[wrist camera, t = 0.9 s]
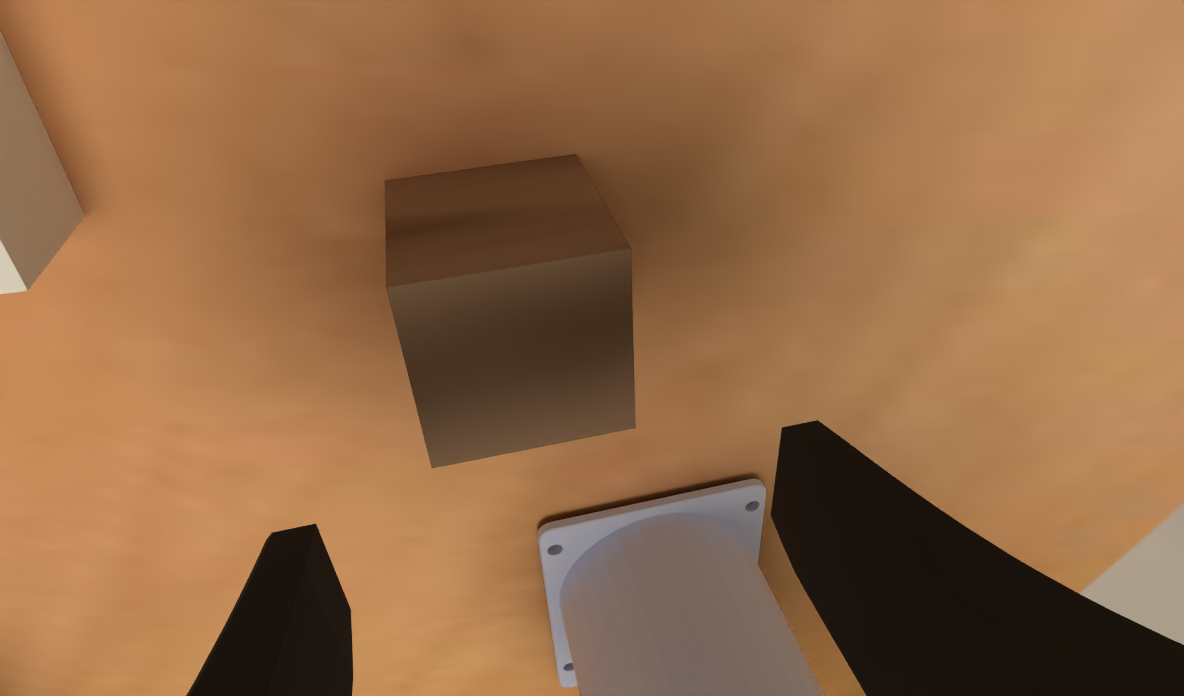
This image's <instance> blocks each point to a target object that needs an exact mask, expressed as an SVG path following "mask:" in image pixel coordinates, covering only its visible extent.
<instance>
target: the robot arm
mask: <svg viewBox="0 0 1184 696" xmlns="http://www.w3.org/2000/svg"><path fill="white" fill-rule="evenodd" d="M765 500H766V488H765V486H764V485H763V483H762V482H761V481H760V480H758V479H748V480H743V481H738V482H734V483H729V484H724V485H720V486H715V487H710V488H706V489H701V490H697V491H692V492H687V493H683V494H678V495H673V496H669V497H664V498H659V499H655V500H650V501H645V502H641V503H636V504H631V505H627V506H622V507H618V508H613V509H608V510H604V511H599V512H594V513H590V514H585V515H580V516H576V517H571V518H566V519H562V520H557V521H553V522H549V523H546V524H544V525H543V526H542V527H540V529H539V530H538V532H537V538H538V545H539V552H540V558H541V565H542V572H543V579H544V586H545V592H546V599H547V606H548V613H549V620H550V626H551V633H552V640H553V647H554V654H555V660H556V667H557V674H558V679H559V683H560V685H561V686H563V687H567V688H570V687H575V686H578V688H579V693H580V696H824V694H823V692H822V690H821V688H820V686H819V684H818V682H817V680H816V678H815V676H814V674H813V672H812V670H811V668H810V666H809V664H808V662H807V660H806V658H805V656H804V654H803V652H802V650H801V648H800V646H799V644H798V643H797V641H796V639H795V637H794V635H793V633H792V631H791V629H790V627H789V625H788V623H787V621H786V619H785V617H784V615H783V613H782V611H781V609H780V607H779V605H778V603H777V601H776V599H775V597H774V595H773V593H772V591H771V589H770V587H769V585H768V583H767V582H766V580H765V578H764V576H763V574H762V572H761V570H760V568H759V566H758V558H759V550H760V542H761V533H762V525H763V517H764V508H765ZM771 517H772V519H773V522H774V524H775V527H776V529H777V532H778V534H779V536H780V539H781V541H782V544H783V546H784V548H785V551H786V553H787V555H788V558H789V560H790V562H791V564H792V567H793V569H794V571H795V573H796V575H797V577H798V578H799V580H800V582H801V584H802V586H803V587H804V589H805V591H806V593H807V594H808V596H809V598H810V600H811V601H812V603H813V605H814V606H815V608H816V610H817V612H818V613H819V615H820V617H821V619H822V620H823V622H824V624H825V625H826V627H827V629H828V631H829V632H830V634H831V636H832V637H833V639H834V641H835V643H836V644H837V646H838V648H839V649H840V651H841V653H842V655H843V656H844V658H845V660H846V661H847V663H848V665H849V667H850V668H851V670H852V672H853V673H854V675H855V677H856V679H857V680H858V682H859V684H860V685H861V687H862V689H863V691H864V692H865V694H866V696H1184V645H1182V644H1180V643H1178V642H1176V641H1173V640H1171V639H1169V638H1167V637H1165V636H1163V635H1161V634H1159V633H1157V632H1155V631H1152V630H1150V629H1148V628H1146V627H1144V626H1142V625H1140V624H1138V623H1136V622H1134V621H1132V620H1130V619H1128V618H1125V617H1123V616H1121V615H1119V614H1117V613H1115V612H1113V611H1111V610H1109V609H1107V608H1105V607H1103V606H1101V605H1099V604H1097V603H1096V602H1094V601H1091V600H1090V599H1088V598H1086V597H1084V596H1082V595H1080V594H1078V593H1077V592H1075V591H1073V590H1071V589H1069V588H1068V587H1066V586H1064V585H1062V584H1060V583H1058V582H1057V581H1055V580H1053V579H1051V578H1049V577H1048V576H1046V575H1044V574H1042V573H1040V572H1039V571H1037V570H1035V569H1033V568H1031V567H1030V566H1028V565H1026V564H1025V563H1023V562H1021V561H1020V560H1018V559H1016V558H1015V557H1013V556H1011V555H1010V554H1008V553H1006V552H1005V551H1003V550H1002V549H1000V548H998V547H997V546H995V545H994V544H992V543H990V542H989V541H987V540H986V539H984V538H983V537H981V536H979V535H978V534H976V533H975V532H973V531H972V530H970V529H968V528H967V527H965V526H964V525H962V524H961V523H959V522H958V521H956V520H955V519H953V518H952V517H950V516H949V515H947V514H946V513H944V512H943V511H941V510H940V509H938V508H937V507H936V506H934V505H933V504H931V503H930V502H928V501H927V500H926V499H924V498H923V497H921V496H920V495H918V494H917V493H916V492H914V491H913V490H911V489H910V488H909V487H907V486H906V485H904V484H903V483H902V482H900V481H899V480H897V479H896V478H895V477H893V476H892V475H891V474H889V473H888V472H887V471H885V470H884V469H883V468H881V467H880V466H878V465H877V464H876V463H874V462H873V461H872V460H870V459H869V458H868V457H866V456H865V455H864V454H862V453H861V452H860V451H858V450H857V449H856V448H854V447H853V446H852V445H850V444H849V443H848V442H846V441H845V440H844V439H842V438H841V437H840V436H838V435H837V434H836V433H834V432H833V431H832V430H830V429H829V428H828V427H826V426H825V425H823V424H822V423H821V422H819V421H818V420H817V421H812V422H807V423H802V424H797V425H792V426H788V427H783V428H782V432H781V439H780V447H779V455H778V462H777V470H776V478H775V485H774V493H773V501H772V508H771ZM553 545H555V546H553ZM352 686H353V655H352V629H351V609H350V607H349V604H348V602H347V599H346V597H345V594H344V592H343V589H342V587H341V584H340V582H339V579H338V577H337V575H336V572H335V570H334V567H333V565H332V562H331V560H330V557H329V555H328V552H327V550H326V548H325V545H324V543H323V540H322V538H321V535H320V533H319V530H318V528H317V525H316V524H312V525H307V526H302V527H297V528H293V529H288V530H283V531H278V532H273V533H272V534H271V535H270V536H269V537H268V538H267V540H266V542H265V544H264V546H263V548H262V550H261V553H260V555H259V557H258V559H257V561H256V563H255V565H254V568H253V570H252V572H251V574H250V576H249V578H248V580H247V582H246V584H245V586H244V588H243V590H242V592H241V594H240V597H239V599H238V600H237V602H236V604H235V606H234V608H233V610H232V612H231V614H230V616H229V618H228V620H227V622H226V624H225V626H224V628H223V630H222V632H221V634H220V635H219V637H218V639H217V641H216V643H215V645H214V647H213V648H212V650H211V652H210V654H209V656H208V658H207V660H206V661H205V663H204V665H203V667H202V669H201V671H200V672H199V674H198V676H197V678H196V680H195V682H194V683H193V685H192V687H191V689H190V690H189V692H188V694H187V695H186V696H352Z"/></svg>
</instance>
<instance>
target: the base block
mask: <svg viewBox="0 0 1184 696" xmlns="http://www.w3.org/2000/svg"><path fill="white" fill-rule="evenodd" d="M84 217H85V215H84V212H83V210H82V208H81V206H80V204H79V202H78V199H77V197H76V195H75V193H74V191H73V188H72V186H71V184H70V182H69V180H68V178H67V175H66V173H65V171H64V169H63V167H62V164H61V162H60V160H59V158H58V156H57V154H56V151H55V149H54V147H53V145H52V143H51V140H50V138H49V136H48V134H47V132H46V130H45V127H44V125H43V123H42V121H41V119H40V116H39V114H38V112H37V110H36V108H35V106H34V103H33V101H32V99H31V97H30V95H29V92H28V90H27V88H26V86H25V84H24V82H23V79H22V77H21V75H20V73H19V71H18V68H17V66H16V64H15V62H14V60H13V58H12V55H11V53H10V51H9V49H8V47H7V44H6V42H5V40H4V38H3V36H2V34H1V31H0V294H6V293H14V292H22V291H28V290H29V289H30V287H31V286H32V285H33V283H34V282H35V281H36V279H37V278H38V277H39V275H40V274H41V273H42V272H43V270H44V269H45V268H46V266H47V265H48V264H49V262H50V261H51V260H52V258H53V257H54V256H55V255H56V253H57V252H58V251H59V249H60V248H61V247H62V245H63V244H64V243H65V241H66V240H67V239H68V237H69V236H70V235H71V234H72V232H73V231H74V230H75V228H76V227H77V226H78V224H79V223H80V222H81V220H82V219H83V218H84Z"/></svg>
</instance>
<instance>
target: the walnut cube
mask: <svg viewBox="0 0 1184 696" xmlns="http://www.w3.org/2000/svg"><path fill="white" fill-rule="evenodd" d="M385 217H386V288H387V292H388V296H389V300H390V304H391V308H392V312H393V316H394V320H395V324H396V328H397V332H398V336H399V340H400V344H401V348H402V352H403V356H404V360H405V364H406V368H407V371H408V375H409V379H410V383H411V387H412V391H413V395H414V399H415V403H416V407H417V411H418V415H419V419H420V423H421V427H422V431H423V435H424V439H425V443H426V447H427V451H428V455H429V459H430V463H431V467H432V468H436V467H441V466H446V465H451V464H456V463H461V462H466V461H471V460H476V459H481V458H487V457H492V456H497V455H502V454H507V453H512V452H517V451H522V450H527V449H532V448H537V447H542V446H547V445H552V444H557V443H562V442H567V441H572V440H577V439H582V438H587V437H592V436H597V435H602V434H607V433H612V432H617V431H622V430H627V429H633V428H635V390H634V351H633V312H632V273H631V248H630V246H629V245H628V243H627V241H626V239H625V238H624V236H623V234H622V233H621V231H620V229H619V227H618V226H617V224H616V222H615V221H614V219H613V217H612V215H611V214H610V212H609V210H608V209H607V207H606V205H605V203H604V202H603V200H602V198H601V197H600V195H599V193H598V191H597V190H596V188H595V186H594V185H593V183H592V181H591V180H590V178H589V176H588V174H587V173H586V171H585V169H584V168H583V166H582V164H581V162H580V161H579V159H578V157H577V156H576V154H574V155H567V156H559V157H552V158H545V159H538V160H531V161H523V162H516V163H509V164H502V165H495V166H487V167H480V168H473V169H466V170H459V171H451V172H444V173H437V174H430V175H423V176H416V177H408V178H401V179H394V180H387V181H385Z"/></svg>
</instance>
